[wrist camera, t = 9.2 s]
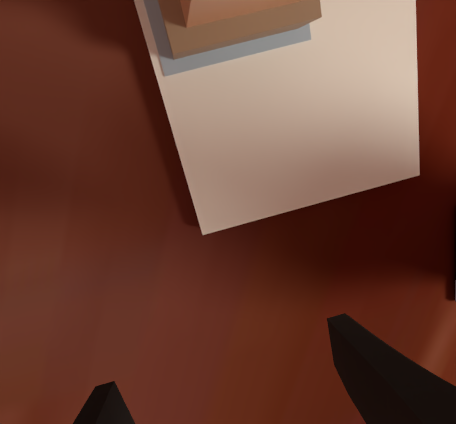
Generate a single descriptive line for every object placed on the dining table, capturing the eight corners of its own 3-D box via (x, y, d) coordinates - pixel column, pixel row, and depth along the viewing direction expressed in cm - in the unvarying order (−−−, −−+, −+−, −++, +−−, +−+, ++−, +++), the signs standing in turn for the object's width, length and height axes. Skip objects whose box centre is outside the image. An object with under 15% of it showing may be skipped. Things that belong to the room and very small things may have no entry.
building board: (396, -166, 15) (469, -250, 11) (408, 171, 21) (459, 189, 17) (105, -101, 14) (80, -167, 11) (201, 228, 20) (206, 260, 16)
